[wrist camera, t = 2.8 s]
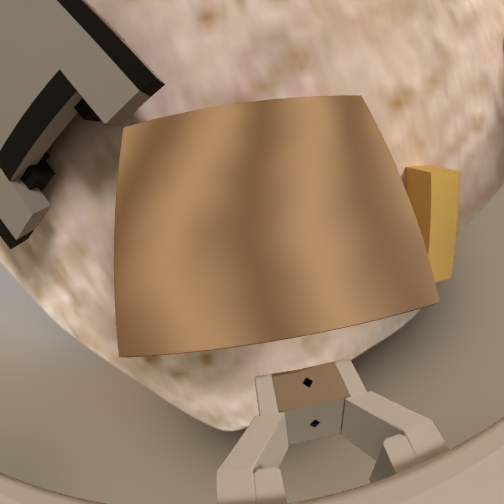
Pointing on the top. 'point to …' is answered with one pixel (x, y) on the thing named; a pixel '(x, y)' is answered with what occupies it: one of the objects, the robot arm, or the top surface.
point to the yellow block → (436, 213)
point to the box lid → (261, 227)
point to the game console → (56, 94)
